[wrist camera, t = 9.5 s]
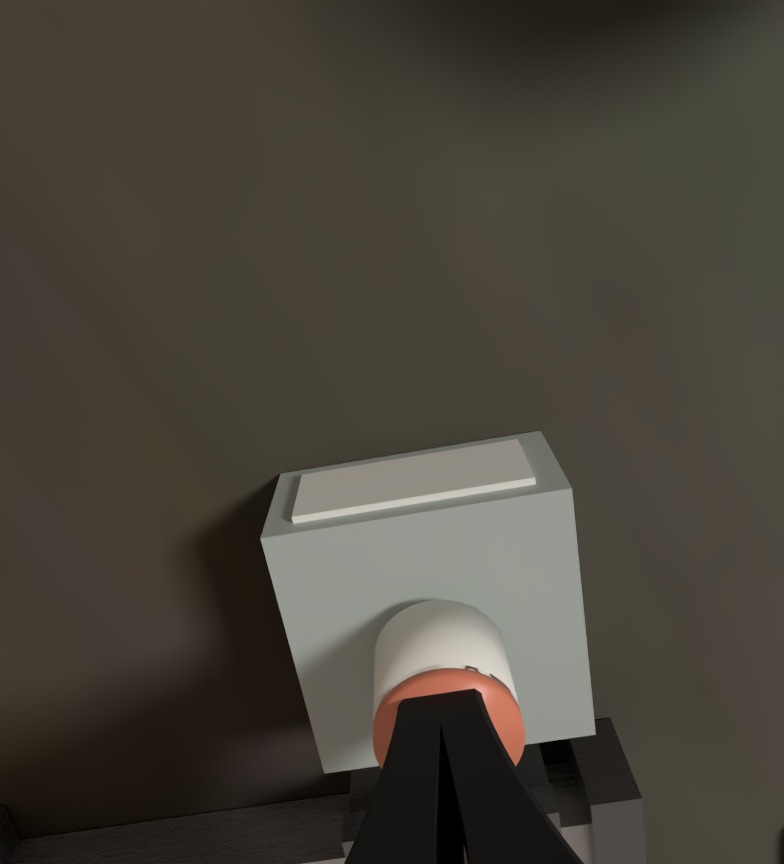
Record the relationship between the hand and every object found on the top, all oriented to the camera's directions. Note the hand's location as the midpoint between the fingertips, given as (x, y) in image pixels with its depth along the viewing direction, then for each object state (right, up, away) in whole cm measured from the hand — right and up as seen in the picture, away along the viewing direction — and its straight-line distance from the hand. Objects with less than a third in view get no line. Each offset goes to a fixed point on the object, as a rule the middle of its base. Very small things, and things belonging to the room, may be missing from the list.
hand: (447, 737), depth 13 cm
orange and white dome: (0, +1, +2) cm, 2 cm away
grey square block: (0, +2, +5) cm, 6 cm away
